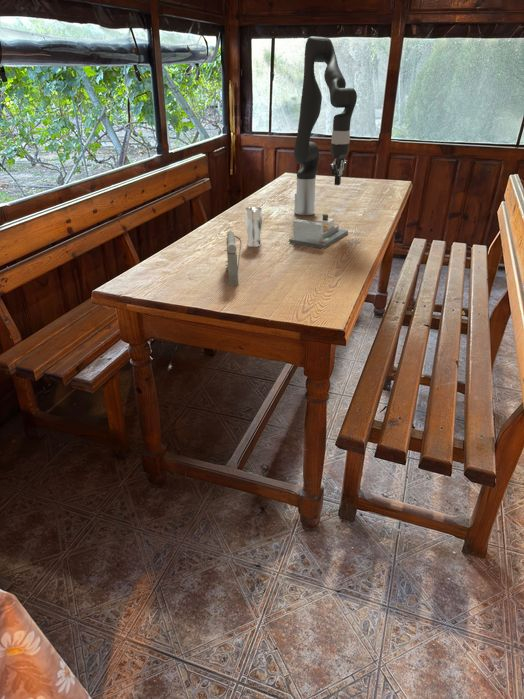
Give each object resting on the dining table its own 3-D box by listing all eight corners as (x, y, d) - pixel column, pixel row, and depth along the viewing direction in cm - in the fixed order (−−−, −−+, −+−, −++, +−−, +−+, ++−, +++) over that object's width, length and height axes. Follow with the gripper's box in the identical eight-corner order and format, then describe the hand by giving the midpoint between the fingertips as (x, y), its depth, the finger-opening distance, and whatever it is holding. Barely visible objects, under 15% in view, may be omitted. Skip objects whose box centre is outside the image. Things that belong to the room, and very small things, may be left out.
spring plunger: (315, 231, 215) (315, 215, 211) (321, 228, 219) (322, 212, 215) (327, 233, 212) (328, 217, 208) (333, 230, 216) (334, 214, 213)
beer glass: (264, 243, 207) (264, 207, 200) (259, 248, 202) (258, 211, 194) (249, 241, 209) (248, 206, 202) (243, 246, 204) (242, 210, 196)
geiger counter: (222, 228, 178) (224, 250, 156) (240, 227, 178) (244, 250, 157) (225, 265, 185) (226, 291, 163) (242, 264, 185) (245, 290, 163)
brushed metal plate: (293, 239, 206) (293, 220, 202) (296, 238, 208) (297, 219, 204) (319, 244, 200) (320, 224, 196) (322, 242, 202) (323, 223, 198)
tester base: (289, 242, 208) (289, 234, 206) (315, 228, 225) (315, 221, 223) (323, 248, 200) (323, 240, 198) (347, 233, 218) (348, 225, 216)
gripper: (338, 139, 212) (336, 181, 221) (325, 143, 203) (322, 186, 212) (355, 140, 209) (351, 183, 218) (341, 144, 199) (338, 188, 208)
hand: (337, 184), depth 215 cm, fingers closed
